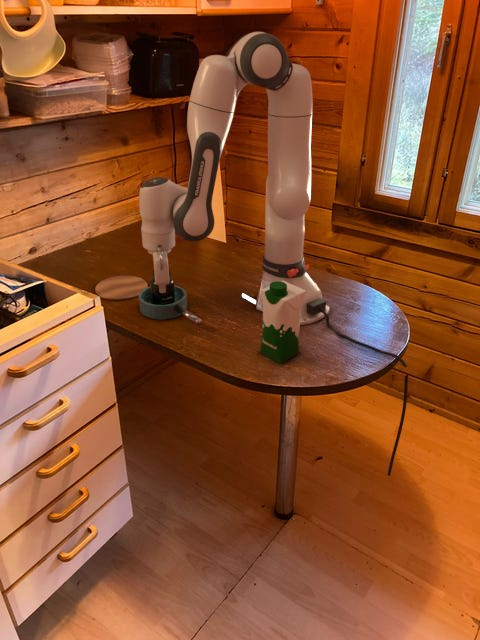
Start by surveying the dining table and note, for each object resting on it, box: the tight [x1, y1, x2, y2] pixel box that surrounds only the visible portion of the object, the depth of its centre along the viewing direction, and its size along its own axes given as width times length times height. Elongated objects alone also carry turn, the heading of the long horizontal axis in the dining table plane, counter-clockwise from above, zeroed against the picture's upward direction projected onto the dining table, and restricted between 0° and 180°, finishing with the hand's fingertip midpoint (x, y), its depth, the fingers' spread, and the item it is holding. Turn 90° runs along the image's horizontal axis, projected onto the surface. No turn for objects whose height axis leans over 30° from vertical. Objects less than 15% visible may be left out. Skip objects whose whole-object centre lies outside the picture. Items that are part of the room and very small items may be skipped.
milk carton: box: [259, 281, 306, 365], centre depth 125 cm, size 9×9×20 cm
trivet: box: [94, 275, 149, 301], centre depth 159 cm, size 16×16×1 cm
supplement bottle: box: [149, 268, 175, 305], centre depth 146 cm, size 7×7×12 cm
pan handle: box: [174, 304, 203, 327], centre depth 139 cm, size 12×2×2 cm, turn 41°
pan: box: [138, 284, 188, 321], centre depth 148 cm, size 14×14×4 cm
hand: (161, 285), depth 145 cm, fingers closed on supplement bottle, 7 cm apart
